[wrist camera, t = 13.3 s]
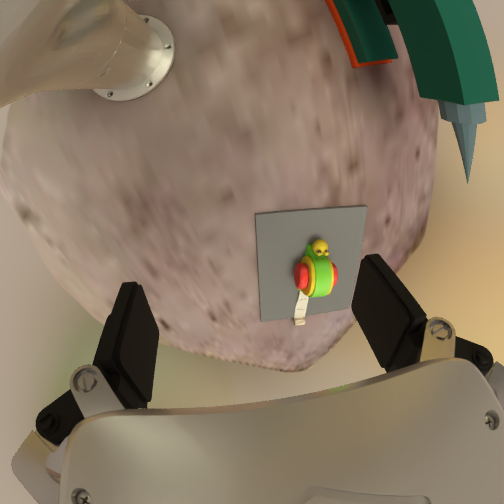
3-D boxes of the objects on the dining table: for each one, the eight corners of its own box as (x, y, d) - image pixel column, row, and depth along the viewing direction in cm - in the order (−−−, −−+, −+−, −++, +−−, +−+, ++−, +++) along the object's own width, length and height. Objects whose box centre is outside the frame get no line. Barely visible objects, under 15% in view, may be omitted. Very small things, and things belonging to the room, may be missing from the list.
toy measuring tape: (335, 232, 42) (351, 254, 37) (312, 320, 53) (321, 344, 47) (297, 232, 42) (309, 255, 36) (281, 322, 52) (288, 348, 46)
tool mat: (260, 319, 52) (261, 322, 51) (255, 213, 40) (255, 215, 39) (347, 306, 53) (349, 308, 52) (365, 205, 41) (367, 206, 41)
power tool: (409, 142, 36) (504, 186, 19) (375, 152, 36) (469, 204, 20) (347, -37, 19) (424, -85, 2) (306, -36, 20) (369, -101, 3)
